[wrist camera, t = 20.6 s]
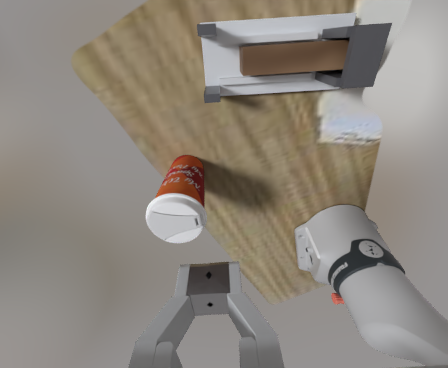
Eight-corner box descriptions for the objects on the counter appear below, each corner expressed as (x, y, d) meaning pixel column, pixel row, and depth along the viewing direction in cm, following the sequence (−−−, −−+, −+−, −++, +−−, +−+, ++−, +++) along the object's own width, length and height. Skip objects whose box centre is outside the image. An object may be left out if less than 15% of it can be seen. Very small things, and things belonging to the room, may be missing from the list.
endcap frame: (334, 87, 34) (368, 99, 26) (207, 95, 34) (204, 110, 26) (350, 14, 29) (397, 4, 21) (200, 23, 29) (195, 17, 21)
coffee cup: (205, 146, 39) (199, 196, 26) (212, 184, 43) (211, 242, 31) (159, 152, 39) (132, 204, 26) (171, 189, 43) (153, 248, 31)
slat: (337, 64, 31) (357, 68, 26) (239, 71, 31) (243, 76, 27) (343, 39, 29) (364, 38, 25) (239, 46, 29) (242, 47, 25)
